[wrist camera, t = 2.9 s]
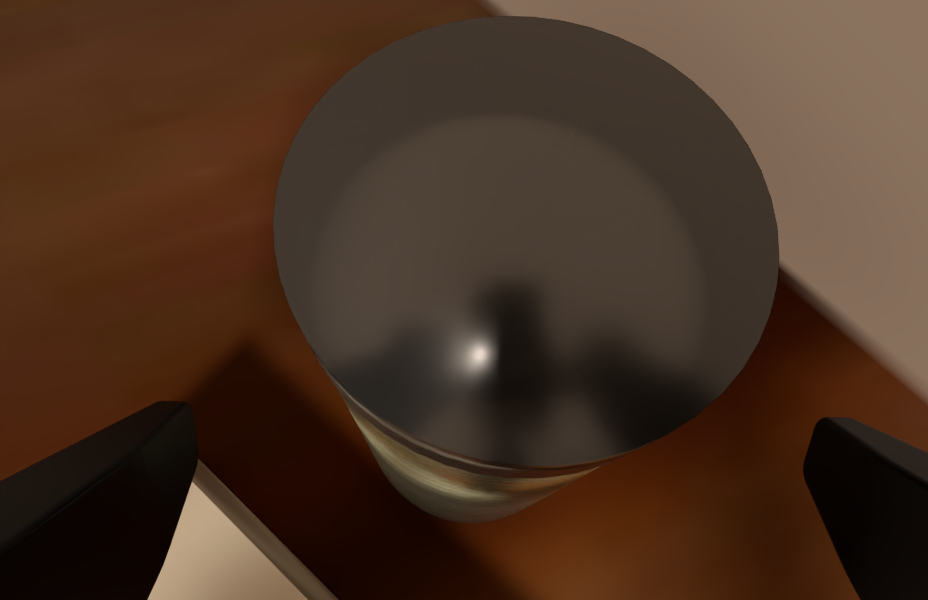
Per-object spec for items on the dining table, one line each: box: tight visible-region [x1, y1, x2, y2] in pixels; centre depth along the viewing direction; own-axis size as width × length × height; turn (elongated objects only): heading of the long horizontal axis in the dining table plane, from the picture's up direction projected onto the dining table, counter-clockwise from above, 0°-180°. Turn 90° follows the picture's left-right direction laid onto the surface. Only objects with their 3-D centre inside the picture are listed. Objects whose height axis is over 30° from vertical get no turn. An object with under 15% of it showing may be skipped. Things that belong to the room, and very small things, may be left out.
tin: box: [273, 16, 779, 523], centre depth 13 cm, size 6×6×12 cm
